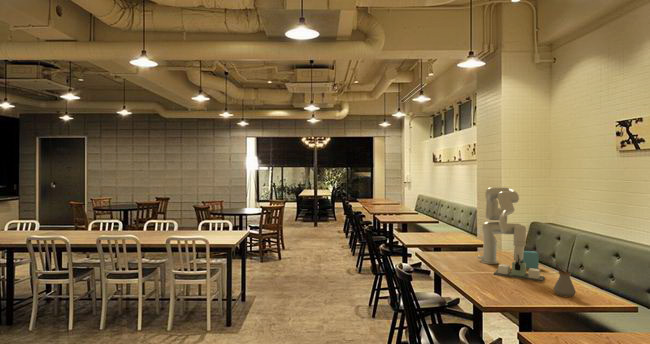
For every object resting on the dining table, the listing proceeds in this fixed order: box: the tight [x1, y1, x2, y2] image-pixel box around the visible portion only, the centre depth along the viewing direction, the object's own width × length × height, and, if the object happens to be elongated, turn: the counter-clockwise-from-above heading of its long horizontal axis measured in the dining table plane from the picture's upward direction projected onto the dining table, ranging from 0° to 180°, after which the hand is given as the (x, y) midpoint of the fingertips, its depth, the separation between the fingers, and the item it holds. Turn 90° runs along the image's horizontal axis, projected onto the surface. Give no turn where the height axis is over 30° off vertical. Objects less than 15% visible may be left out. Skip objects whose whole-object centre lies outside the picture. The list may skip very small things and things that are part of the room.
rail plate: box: [493, 268, 545, 283], centre depth 293 cm, size 30×10×2 cm, turn 56°
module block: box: [511, 261, 527, 276], centre depth 294 cm, size 8×4×8 cm, turn 56°
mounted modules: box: [497, 263, 541, 279], centre depth 293 cm, size 25×7×5 cm, turn 56°
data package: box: [523, 250, 540, 269], centre depth 320 cm, size 12×4×12 cm, turn 83°
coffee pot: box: [552, 263, 576, 297], centre depth 257 cm, size 21×12×15 cm, turn 169°
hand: (518, 268), depth 293 cm, fingers open, 9 cm apart
